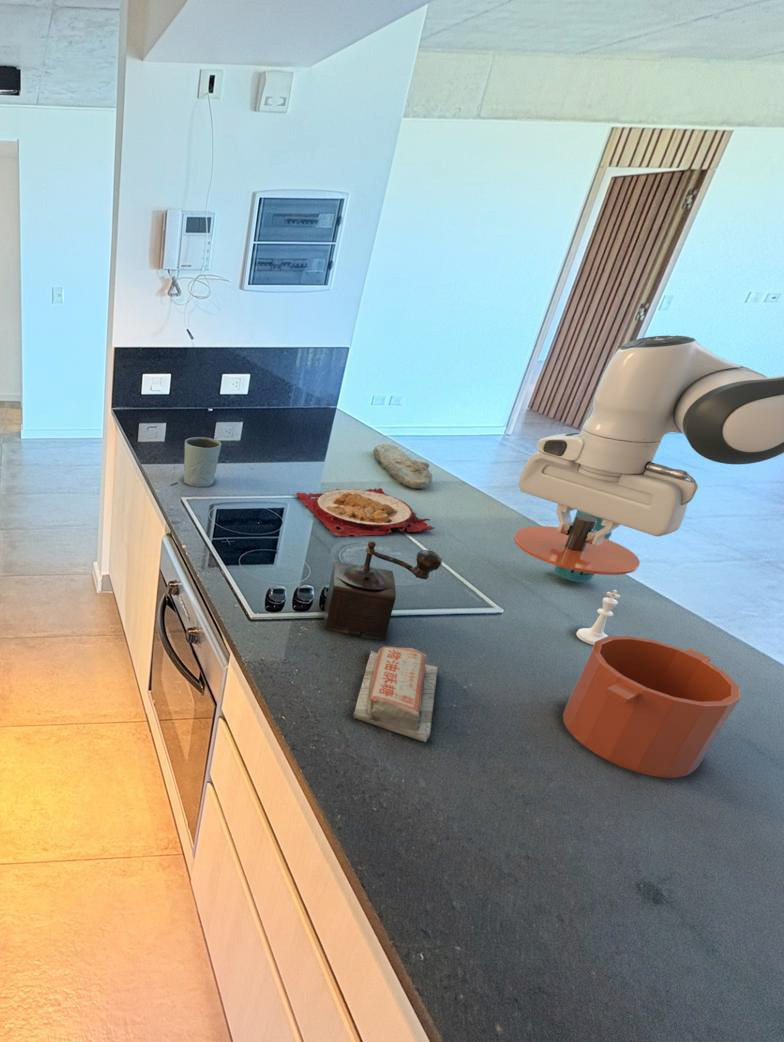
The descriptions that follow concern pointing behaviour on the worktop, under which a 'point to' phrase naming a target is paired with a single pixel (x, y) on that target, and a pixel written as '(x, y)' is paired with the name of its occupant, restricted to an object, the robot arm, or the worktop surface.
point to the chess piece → (599, 621)
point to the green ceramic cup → (200, 461)
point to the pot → (649, 705)
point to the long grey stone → (403, 467)
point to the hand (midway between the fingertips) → (578, 538)
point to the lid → (576, 549)
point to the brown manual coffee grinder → (368, 594)
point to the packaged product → (398, 692)
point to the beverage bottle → (579, 575)
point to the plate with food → (362, 512)
